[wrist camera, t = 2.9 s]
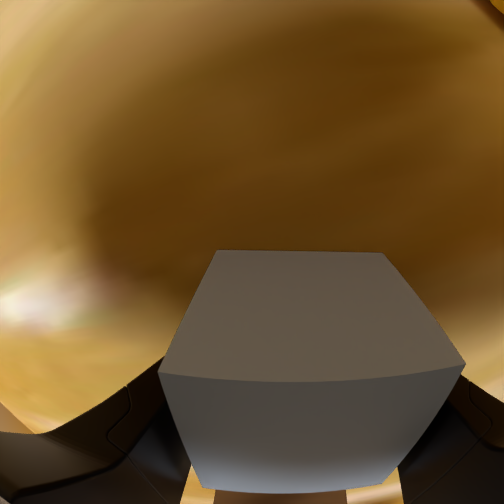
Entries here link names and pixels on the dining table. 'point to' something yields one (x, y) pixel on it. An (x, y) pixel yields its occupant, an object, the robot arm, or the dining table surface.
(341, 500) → the tower base
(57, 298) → the dining table surface
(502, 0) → the lemon
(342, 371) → the slate brick
